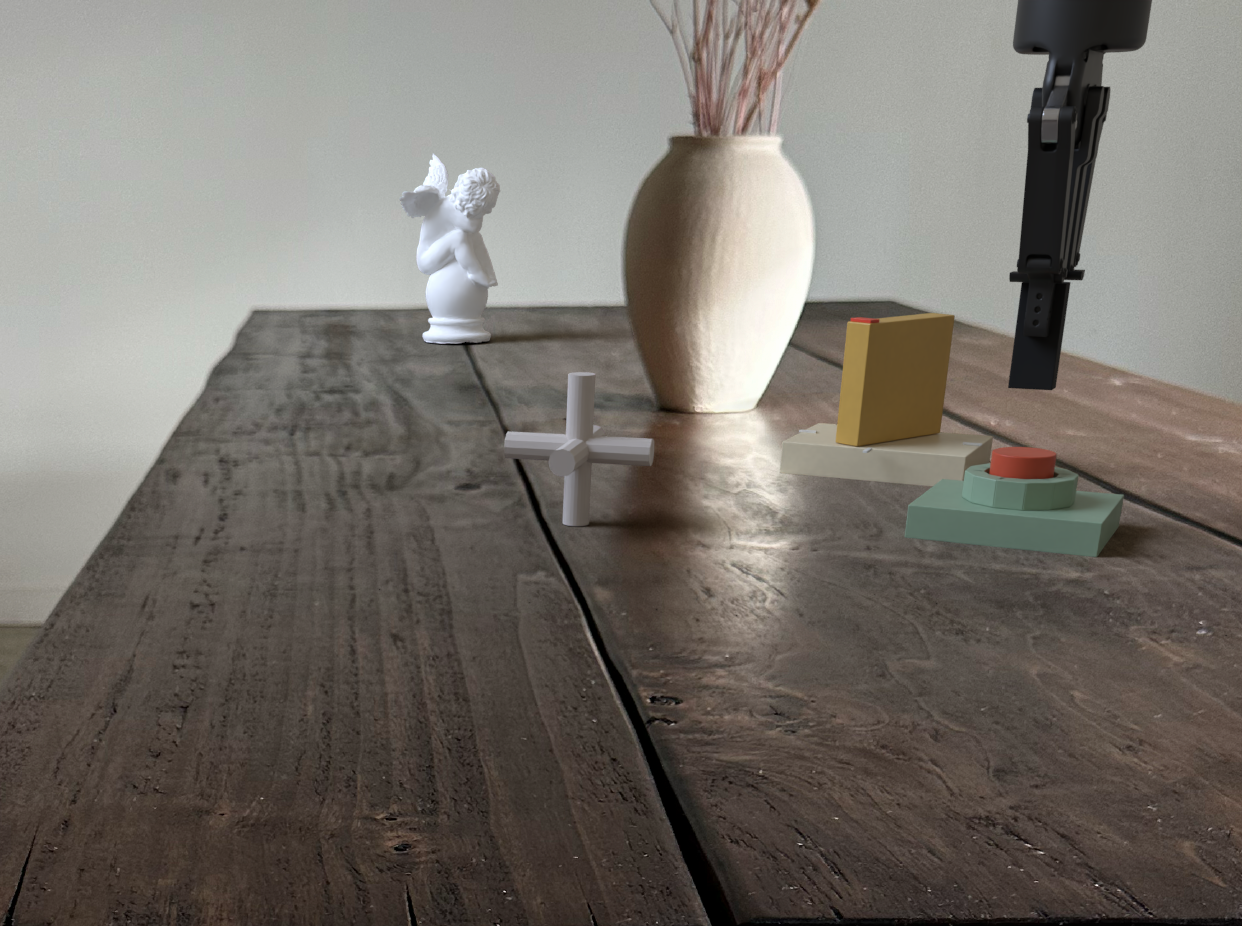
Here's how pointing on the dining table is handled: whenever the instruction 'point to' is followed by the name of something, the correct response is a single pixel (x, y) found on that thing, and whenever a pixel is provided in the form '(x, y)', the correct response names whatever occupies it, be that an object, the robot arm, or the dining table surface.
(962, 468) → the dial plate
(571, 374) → the pipe connector
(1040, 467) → the button
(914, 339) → the tan flat block
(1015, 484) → the button box
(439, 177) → the cherub figurine
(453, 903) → the dining table surface
